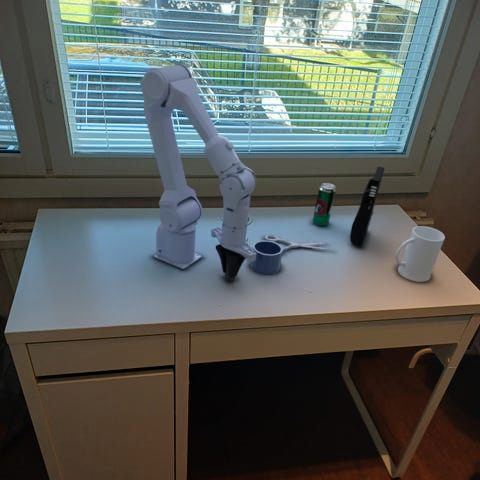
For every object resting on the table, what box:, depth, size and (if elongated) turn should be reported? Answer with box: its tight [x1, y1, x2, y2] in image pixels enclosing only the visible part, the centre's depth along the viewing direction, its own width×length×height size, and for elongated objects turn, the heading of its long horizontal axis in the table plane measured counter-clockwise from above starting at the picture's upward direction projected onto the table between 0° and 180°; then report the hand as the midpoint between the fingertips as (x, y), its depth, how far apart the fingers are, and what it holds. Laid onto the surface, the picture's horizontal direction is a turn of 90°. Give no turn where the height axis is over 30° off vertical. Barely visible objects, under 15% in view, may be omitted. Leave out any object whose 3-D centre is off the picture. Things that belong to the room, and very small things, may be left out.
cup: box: [250, 240, 284, 275], centre depth 121 cm, size 8×8×6 cm
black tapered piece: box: [349, 166, 385, 248], centre depth 134 cm, size 12×5×20 cm, turn 160°
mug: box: [395, 225, 446, 283], centre depth 123 cm, size 12×8×12 cm
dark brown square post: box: [224, 257, 236, 282], centre depth 114 cm, size 2×2×6 cm
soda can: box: [312, 182, 337, 227], centre depth 142 cm, size 5×5×12 cm
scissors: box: [264, 234, 332, 252], centre depth 132 cm, size 11×1×20 cm
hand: (230, 274), depth 115 cm, fingers closed on dark brown square post, 2 cm apart
